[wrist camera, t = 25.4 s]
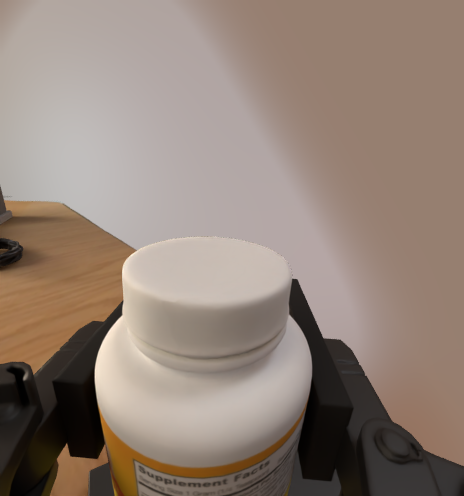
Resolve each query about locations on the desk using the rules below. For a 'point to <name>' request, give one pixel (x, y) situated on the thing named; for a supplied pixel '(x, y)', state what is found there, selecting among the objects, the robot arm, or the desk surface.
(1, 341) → the desk surface
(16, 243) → the computer mouse
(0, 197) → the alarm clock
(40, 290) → the desk surface
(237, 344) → the supplement bottle
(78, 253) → the desk surface
